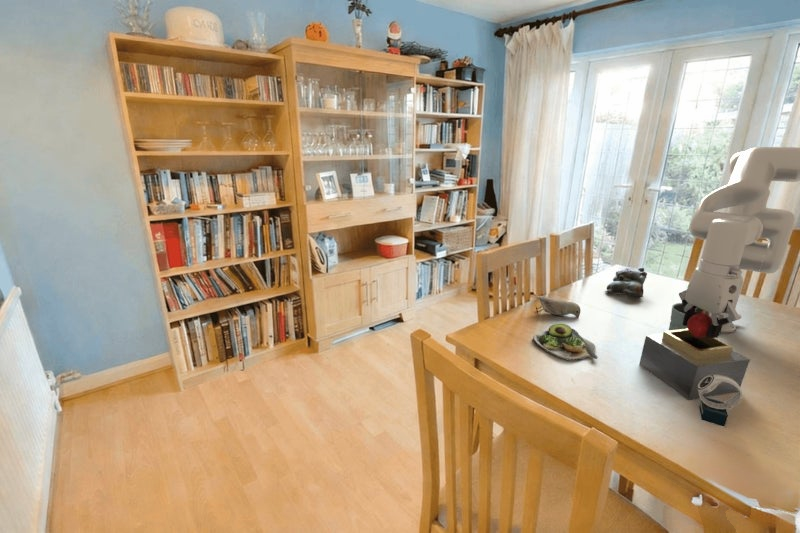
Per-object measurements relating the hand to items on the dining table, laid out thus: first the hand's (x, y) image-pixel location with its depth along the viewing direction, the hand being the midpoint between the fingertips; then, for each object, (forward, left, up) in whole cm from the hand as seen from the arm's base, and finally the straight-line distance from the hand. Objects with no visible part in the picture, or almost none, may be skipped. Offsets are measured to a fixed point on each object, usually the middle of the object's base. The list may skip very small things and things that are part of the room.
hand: (699, 330), depth 100 cm
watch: (+8, +14, -15) cm, 22 cm away
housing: (0, 0, -15) cm, 15 cm away
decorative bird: (+13, -42, -15) cm, 47 cm away
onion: (0, 0, -2) cm, 2 cm away
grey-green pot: (-16, -16, -15) cm, 27 cm away
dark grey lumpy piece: (-27, -54, -15) cm, 62 cm away
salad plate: (+23, -23, -15) cm, 36 cm away
